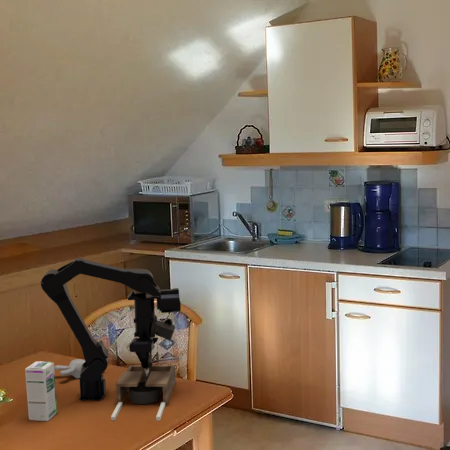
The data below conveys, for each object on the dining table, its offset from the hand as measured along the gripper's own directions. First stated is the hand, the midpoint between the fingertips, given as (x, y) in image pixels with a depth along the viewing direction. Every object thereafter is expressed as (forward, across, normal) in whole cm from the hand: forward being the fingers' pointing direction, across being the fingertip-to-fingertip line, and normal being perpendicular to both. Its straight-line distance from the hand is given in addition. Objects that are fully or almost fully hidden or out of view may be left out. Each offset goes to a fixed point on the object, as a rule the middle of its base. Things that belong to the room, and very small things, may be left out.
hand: (146, 366), depth 199 cm
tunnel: (+8, 0, 0) cm, 8 cm away
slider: (+8, 0, 0) cm, 8 cm away
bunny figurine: (+8, +14, +23) cm, 29 cm away
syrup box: (+8, -17, +26) cm, 32 cm away
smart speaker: (+8, -5, 0) cm, 10 cm away
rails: (+8, -15, 0) cm, 17 cm away
